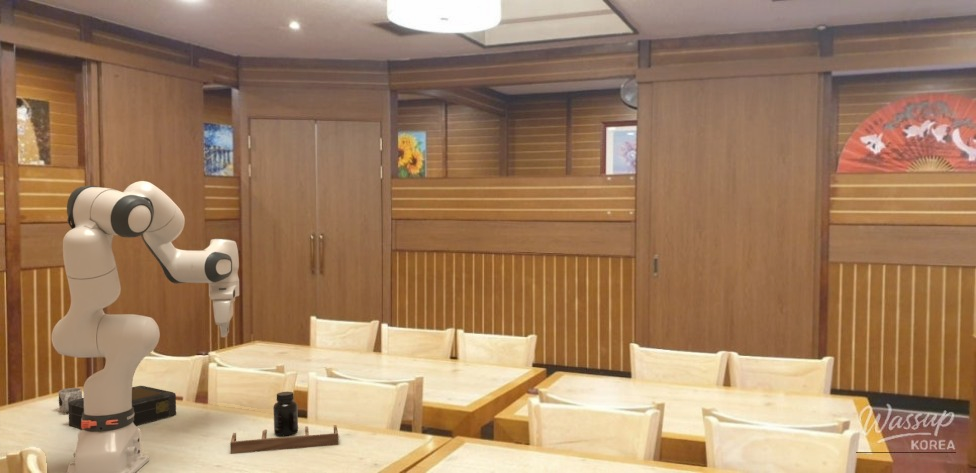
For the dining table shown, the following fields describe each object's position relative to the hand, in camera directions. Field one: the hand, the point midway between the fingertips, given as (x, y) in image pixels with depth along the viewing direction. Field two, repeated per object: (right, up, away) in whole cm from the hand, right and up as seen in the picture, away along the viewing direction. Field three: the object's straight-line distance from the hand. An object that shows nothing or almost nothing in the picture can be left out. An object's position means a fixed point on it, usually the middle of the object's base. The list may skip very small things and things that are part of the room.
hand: (224, 335), depth 227 cm
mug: (-56, -27, +14) cm, 64 cm away
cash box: (-34, -28, +4) cm, 44 cm away
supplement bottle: (+22, -28, -11) cm, 37 cm away
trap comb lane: (+23, -28, -16) cm, 39 cm away
